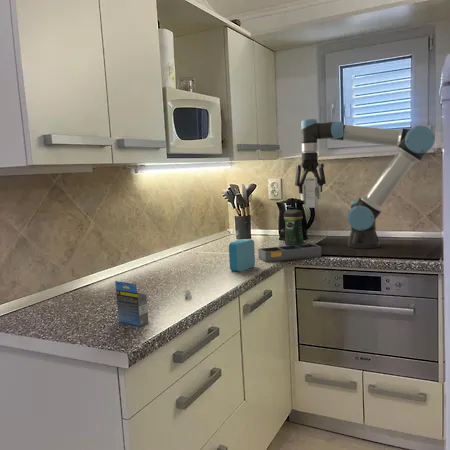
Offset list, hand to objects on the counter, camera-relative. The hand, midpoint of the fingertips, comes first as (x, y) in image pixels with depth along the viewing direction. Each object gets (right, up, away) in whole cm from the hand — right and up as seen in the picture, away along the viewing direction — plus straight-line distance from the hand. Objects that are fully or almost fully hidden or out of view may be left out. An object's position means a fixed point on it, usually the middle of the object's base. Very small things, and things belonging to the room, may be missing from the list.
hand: (310, 199), depth 223 cm
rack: (-12, -27, -11) cm, 32 cm away
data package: (-34, -31, -30) cm, 55 cm away
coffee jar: (-5, -23, +21) cm, 32 cm away
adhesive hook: (-55, -38, -69) cm, 96 cm away
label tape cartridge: (-68, -41, -90) cm, 120 cm away
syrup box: (0, -4, +1) cm, 4 cm away
